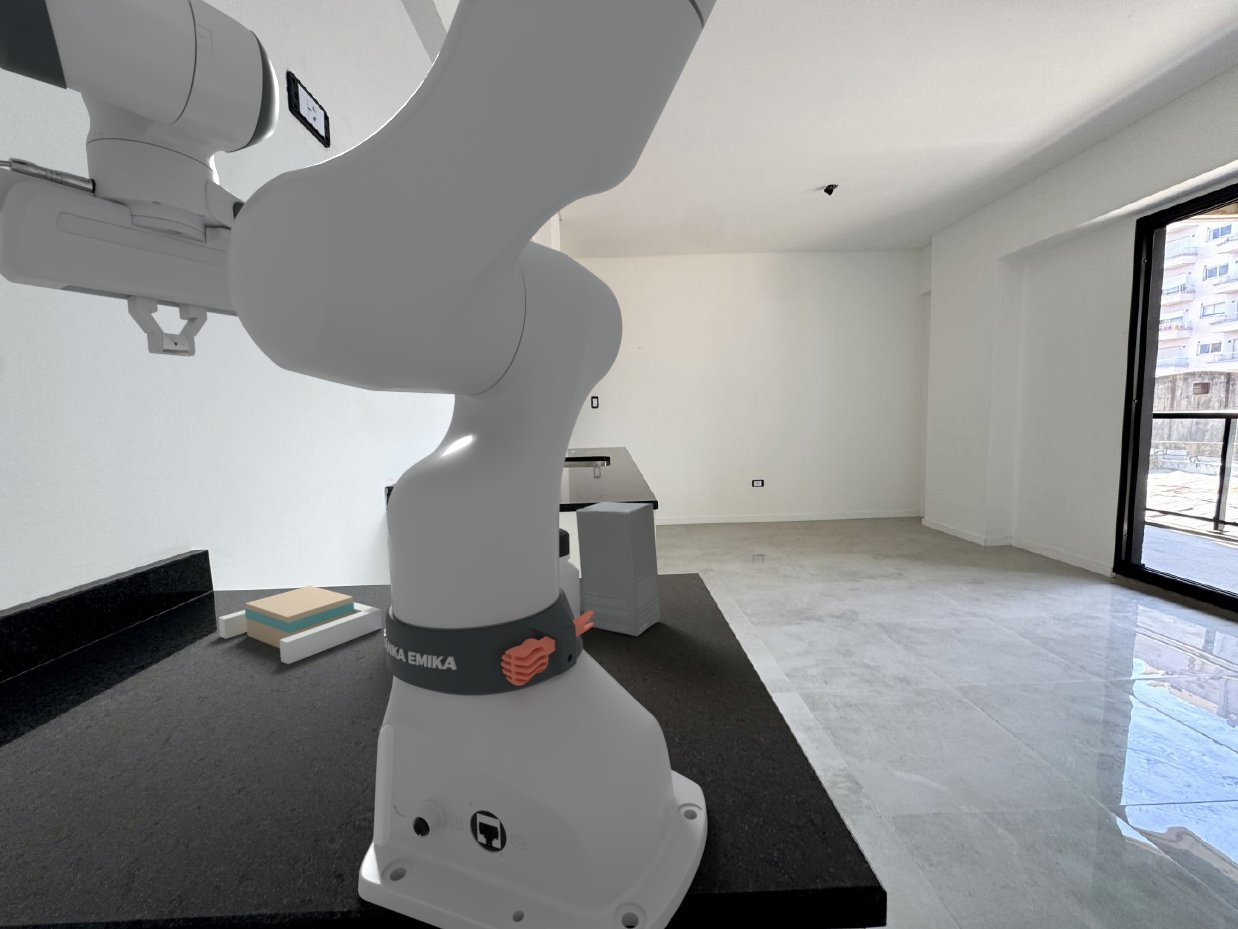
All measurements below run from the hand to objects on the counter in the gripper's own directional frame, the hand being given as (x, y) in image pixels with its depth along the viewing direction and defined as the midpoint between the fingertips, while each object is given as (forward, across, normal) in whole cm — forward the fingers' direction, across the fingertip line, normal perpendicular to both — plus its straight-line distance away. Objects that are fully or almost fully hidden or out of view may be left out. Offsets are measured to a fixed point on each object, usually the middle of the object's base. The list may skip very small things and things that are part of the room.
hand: (172, 354), depth 47 cm
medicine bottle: (+33, +33, -17) cm, 50 cm away
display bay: (+33, +13, +8) cm, 36 cm away
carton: (+34, +14, +8) cm, 37 cm away
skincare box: (+33, +35, -27) cm, 55 cm away
